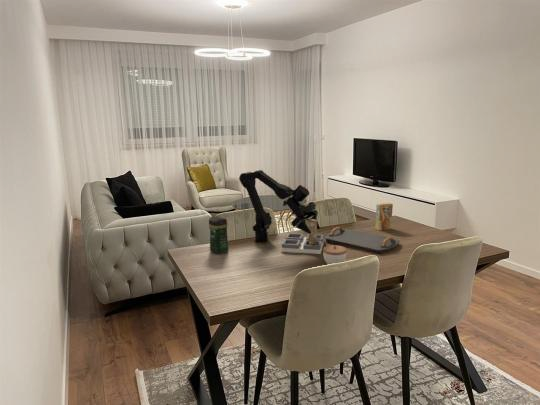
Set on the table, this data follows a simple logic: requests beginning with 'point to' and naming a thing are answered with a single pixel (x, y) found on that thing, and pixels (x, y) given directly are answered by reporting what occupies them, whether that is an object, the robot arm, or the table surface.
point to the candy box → (383, 216)
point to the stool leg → (313, 232)
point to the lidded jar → (334, 254)
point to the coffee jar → (218, 235)
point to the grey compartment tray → (301, 244)
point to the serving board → (362, 239)
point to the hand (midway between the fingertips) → (315, 231)
